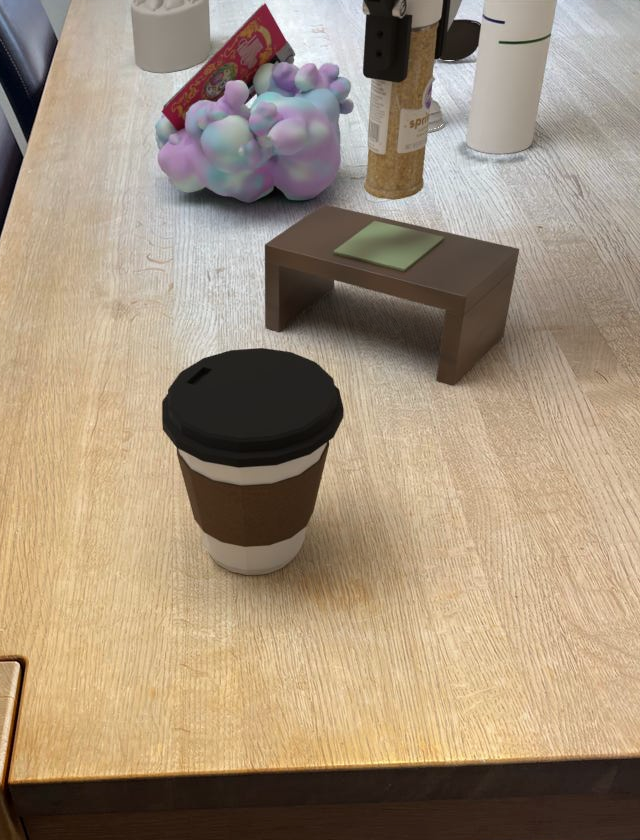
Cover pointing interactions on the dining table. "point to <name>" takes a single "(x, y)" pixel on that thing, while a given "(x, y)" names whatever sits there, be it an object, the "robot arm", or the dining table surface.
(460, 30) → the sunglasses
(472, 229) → the dining table surface
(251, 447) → the coffee cup
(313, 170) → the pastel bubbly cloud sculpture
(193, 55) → the lumpy-topped squat cylinder
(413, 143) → the brown spice jar
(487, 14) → the cylindrical container
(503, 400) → the dining table surface
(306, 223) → the low table
